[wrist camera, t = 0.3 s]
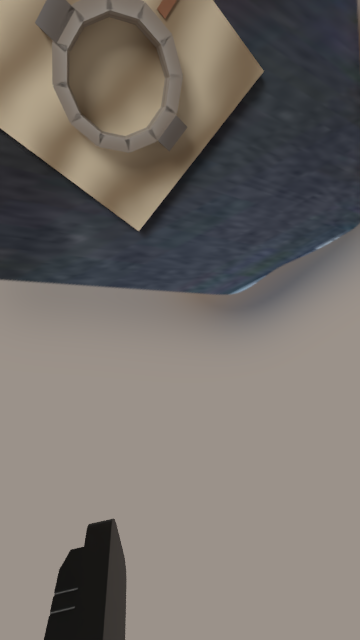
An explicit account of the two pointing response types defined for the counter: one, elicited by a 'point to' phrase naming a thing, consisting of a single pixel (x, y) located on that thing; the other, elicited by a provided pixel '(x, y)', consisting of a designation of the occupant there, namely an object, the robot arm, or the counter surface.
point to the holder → (120, 90)
